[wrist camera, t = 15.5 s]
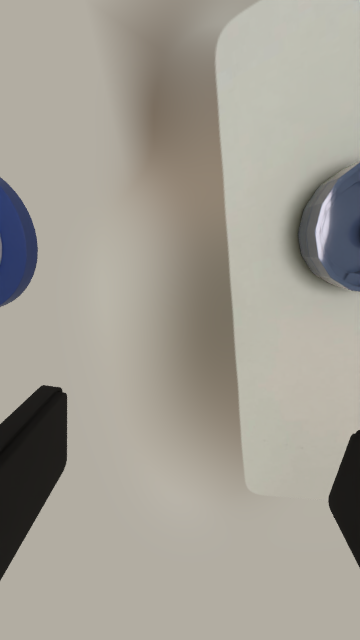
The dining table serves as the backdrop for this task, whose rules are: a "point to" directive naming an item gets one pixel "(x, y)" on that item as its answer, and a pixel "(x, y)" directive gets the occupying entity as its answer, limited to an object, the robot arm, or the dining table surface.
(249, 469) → the dining table surface
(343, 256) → the bowl
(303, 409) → the dining table surface
